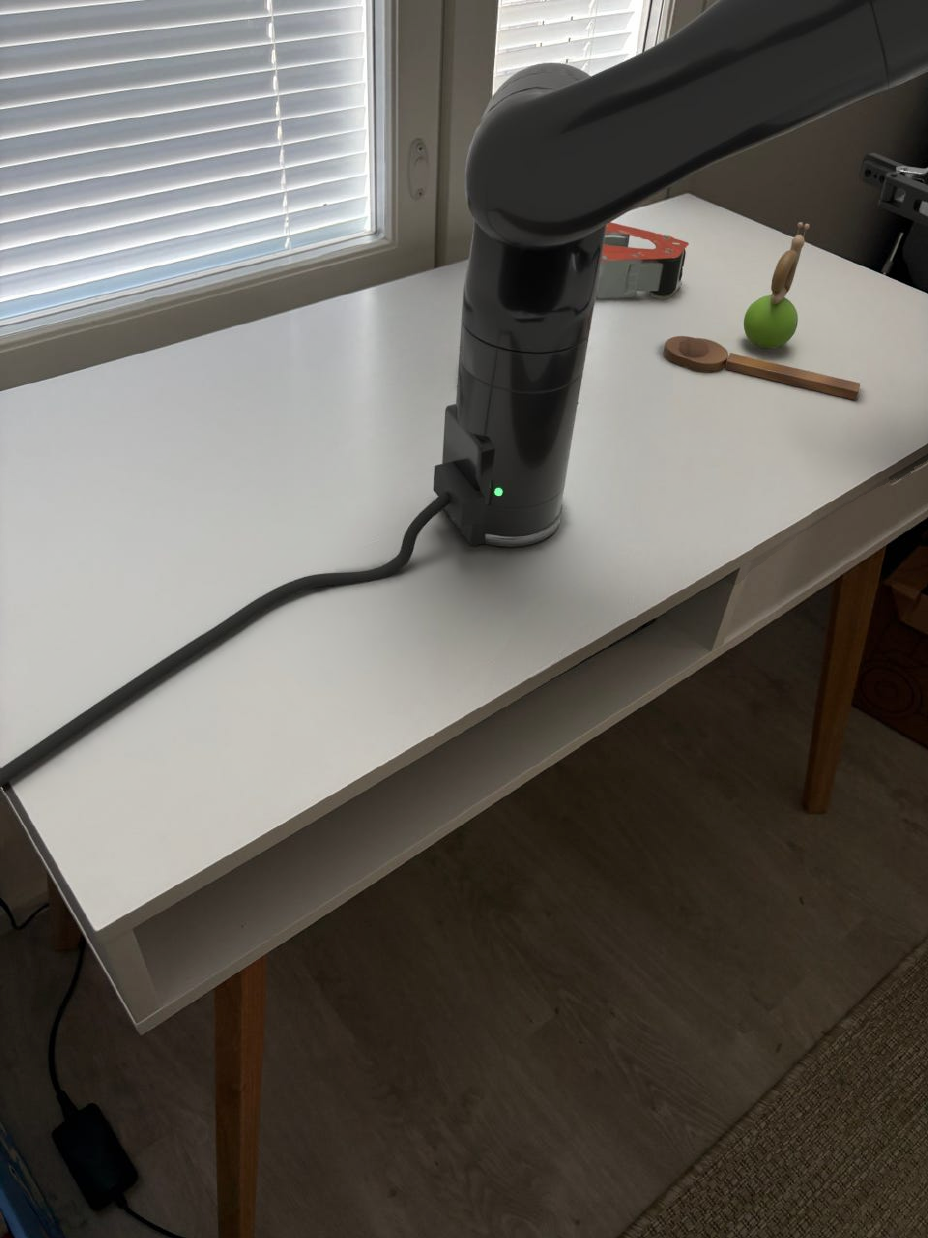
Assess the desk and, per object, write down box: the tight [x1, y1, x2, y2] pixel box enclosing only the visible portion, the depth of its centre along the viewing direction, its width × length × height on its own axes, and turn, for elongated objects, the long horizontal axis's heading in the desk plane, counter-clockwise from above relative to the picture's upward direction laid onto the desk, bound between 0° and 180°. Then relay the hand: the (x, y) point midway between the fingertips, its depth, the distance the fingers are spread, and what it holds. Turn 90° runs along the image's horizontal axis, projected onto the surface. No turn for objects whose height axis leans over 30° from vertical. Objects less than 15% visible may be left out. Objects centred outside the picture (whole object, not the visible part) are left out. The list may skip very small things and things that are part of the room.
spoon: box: [663, 335, 861, 401], centre depth 103 cm, size 20×5×1 cm, turn 70°
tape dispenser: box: [596, 221, 690, 300], centre depth 113 cm, size 18×5×20 cm
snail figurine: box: [743, 221, 810, 350], centre depth 104 cm, size 5×6×12 cm
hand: (900, 155), depth 88 cm, fingers open, 8 cm apart
